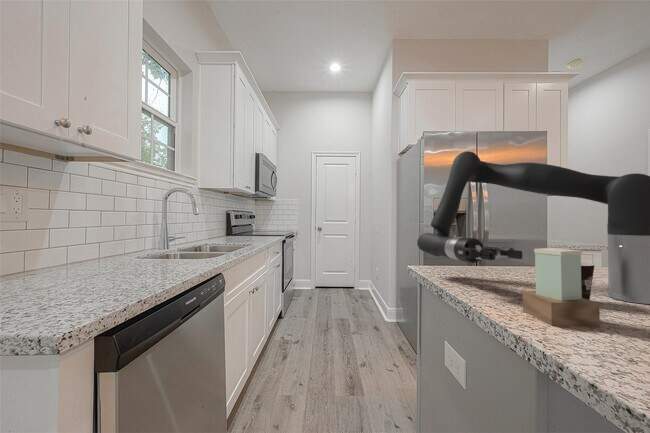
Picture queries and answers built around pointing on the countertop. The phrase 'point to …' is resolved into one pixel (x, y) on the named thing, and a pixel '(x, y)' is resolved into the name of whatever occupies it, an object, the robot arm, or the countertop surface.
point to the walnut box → (562, 310)
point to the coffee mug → (586, 279)
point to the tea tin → (558, 273)
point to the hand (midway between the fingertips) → (507, 255)
